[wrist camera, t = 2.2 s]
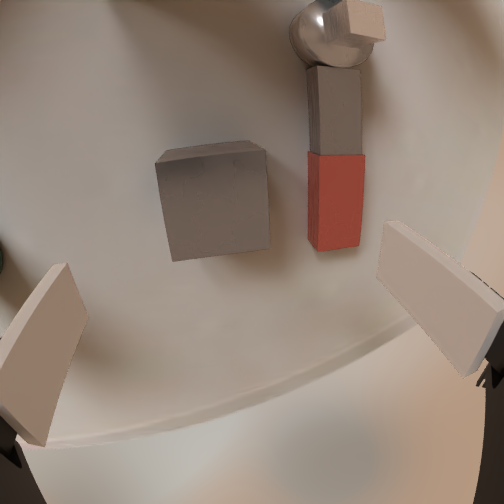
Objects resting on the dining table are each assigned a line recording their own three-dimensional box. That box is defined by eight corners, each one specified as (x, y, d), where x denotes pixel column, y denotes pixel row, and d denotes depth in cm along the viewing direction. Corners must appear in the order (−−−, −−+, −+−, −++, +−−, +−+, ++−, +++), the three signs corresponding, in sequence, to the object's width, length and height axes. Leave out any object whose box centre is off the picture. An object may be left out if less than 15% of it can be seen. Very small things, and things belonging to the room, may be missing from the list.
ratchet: (286, 5, 17) (317, -27, 11) (352, 13, 18) (398, -7, 11) (297, 240, 27) (326, 281, 20) (355, 232, 27) (394, 268, 21)
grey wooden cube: (166, 150, 21) (155, 163, 16) (249, 140, 22) (265, 149, 16) (178, 226, 24) (172, 261, 19) (254, 216, 25) (270, 248, 19)
